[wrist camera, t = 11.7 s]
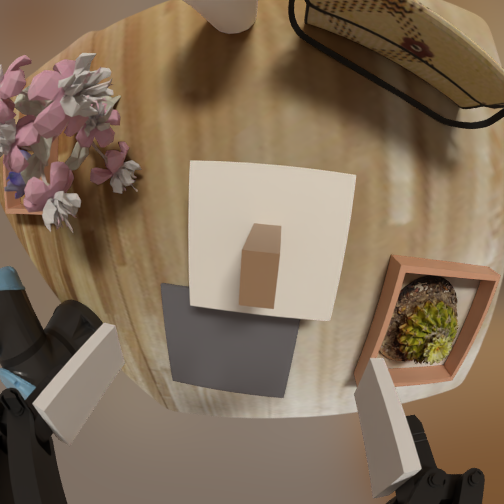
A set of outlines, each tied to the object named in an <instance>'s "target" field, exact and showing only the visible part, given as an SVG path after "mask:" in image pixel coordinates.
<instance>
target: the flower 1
mask: <svg viewBox="0 0 504 504" xmlns="http://www.w3.org/2000/svg"><path fill="white" fill-rule="evenodd" d="M20 152H21V153H22V155H23V156H24V158H25V159H26V160H28V159H29V158H30V157H31V154H29V153H28V152H27V151H25V150H20ZM20 173H21V172H19V173H16V172H9V176H8V177H7V179H6V180H8V179H10V181H8V182H7V186H6V187H4V191H8V192H9V191H12V192H13V191H16V192H17V193H15V199H19V198H20V197H22V196H23V195H24V194H25V191H24V189H25V187H26V184H25V182H24V180H23V178H22V176H21V174H20Z"/></svg>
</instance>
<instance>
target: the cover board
mask: <svg viewBox="0 0 504 504" xmlns="http://www.w3.org/2000/svg"><path fill="white" fill-rule="evenodd" d="M355 181H356V175H352V174H346V173H339V172H333V171H325V170H318V169H309V168H301V167H292V166H282V165H270V164H258V163H243V162H224V161H190V176H189V224H188V242H189V290H190V305H192V306H198V307H205V308H212V309H219V310H226V311H234V312H242V313H250V314H259V315H268V316H277V317H287V318H298V319H309V320H322V321H330V319H331V314H332V310H333V306H334V302H335V297H336V293H337V288H338V284H339V279H340V274H341V269H342V264H343V259H344V254H345V248H346V243H347V237H348V231H349V225H350V218H351V211H352V204H353V197H354V189H355Z"/></svg>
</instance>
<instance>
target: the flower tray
mask: <svg viewBox="0 0 504 504" xmlns="http://www.w3.org/2000/svg"><path fill="white" fill-rule="evenodd" d="M18 149H19V148H18ZM3 158H4V154H3ZM53 162H58V137H57V138H56V139H55V140H54V141H53V142H52V144H51V150H50V156H49V159H48V164H49V165H48V166H45V168H44V173H45V177H46V181H47V183H49V184H50V169H51V163H53ZM9 172H10V171H8V170H7V168H6V167H5V165H4V164H3V177H4V187H6V186H7V182H8V181H10V179H8V180H6V179H7V177H8V176H9ZM39 180H41V181H43V180H42V177H40V178H39ZM15 193H17V192H16V191H13V192H12V191H9V192H8V191H4V196H5V208H6V213H9V214H37V215H42V214H43V211H39V212H28V211H27V209H26V208H25V206H24V204H21V201H20V198H19V199H15Z"/></svg>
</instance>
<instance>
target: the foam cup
mask: <svg viewBox="0 0 504 504" xmlns="http://www.w3.org/2000/svg"><path fill="white" fill-rule="evenodd" d="M183 1H184V2H186V3H187V4H189V5H191V6H192V7H193V8H194V9H195V10H196V11H197V12H198V13H200V14H201V15H202V16H203V17H204V18H205V19H206V20H207V21H208V22H209V23H210V24H211V25H213V26H214V27H215V28H216V29H217V30H219V31H220V32H223V33H227V34H233V33H240V32H242V31H245V30H247V29H249V28H250V27H251V26H252V25H253V24H254V23H255V20H256V16H257V5H258V0H183Z"/></svg>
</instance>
